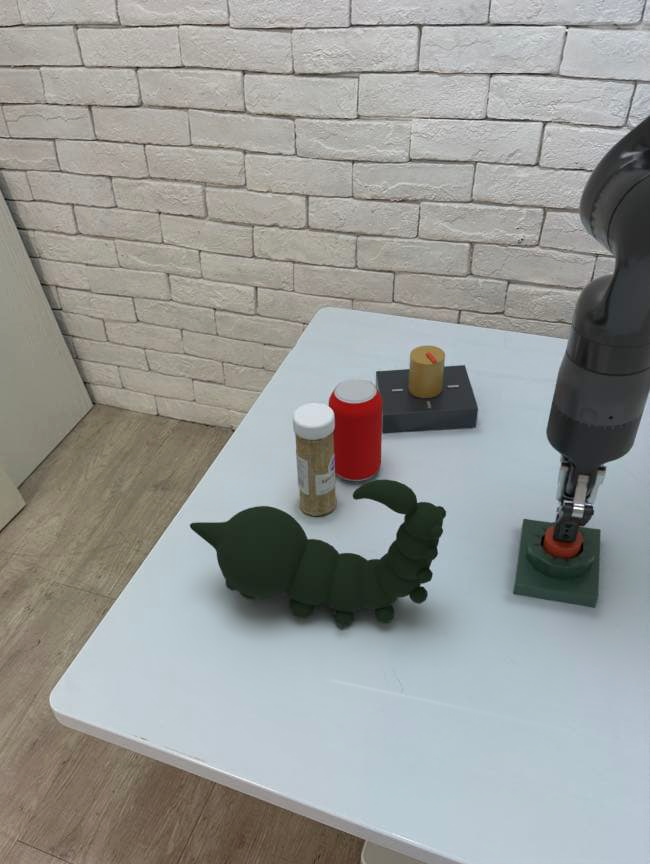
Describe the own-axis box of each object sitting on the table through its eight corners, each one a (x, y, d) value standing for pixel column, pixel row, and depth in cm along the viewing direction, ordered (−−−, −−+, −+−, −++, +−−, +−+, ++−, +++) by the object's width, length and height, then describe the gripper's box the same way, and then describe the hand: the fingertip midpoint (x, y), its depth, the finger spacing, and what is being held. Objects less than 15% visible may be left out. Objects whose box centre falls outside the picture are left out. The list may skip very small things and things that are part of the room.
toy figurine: (425, 593, 87) (207, 547, 92) (457, 460, 73) (199, 415, 78) (413, 662, 81) (180, 609, 86) (445, 531, 67) (165, 477, 72)
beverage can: (379, 486, 97) (381, 405, 89) (328, 485, 99) (325, 405, 90) (381, 454, 102) (383, 374, 93) (332, 453, 103) (330, 374, 94)
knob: (402, 383, 107) (404, 348, 103) (433, 376, 107) (436, 340, 103) (416, 401, 104) (419, 365, 100) (448, 393, 104) (451, 357, 100)
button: (544, 533, 85) (546, 522, 84) (579, 539, 84) (583, 527, 83) (541, 557, 83) (544, 545, 82) (578, 563, 82) (581, 551, 81)
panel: (462, 383, 111) (465, 363, 108) (475, 427, 104) (478, 407, 101) (375, 389, 112) (375, 370, 109) (382, 433, 105) (383, 413, 102)
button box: (521, 529, 90) (525, 506, 88) (597, 540, 88) (604, 517, 85) (512, 594, 84) (517, 572, 81) (594, 608, 81) (602, 585, 79)
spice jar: (336, 517, 94) (334, 425, 85) (297, 517, 95) (291, 426, 86) (336, 491, 98) (334, 400, 88) (299, 491, 98) (293, 401, 89)
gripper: (646, 449, 65) (601, 590, 77) (645, 360, 73) (604, 499, 85) (548, 438, 67) (519, 577, 79) (558, 352, 76) (530, 490, 88)
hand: (563, 536), depth 82 cm, fingers closed
